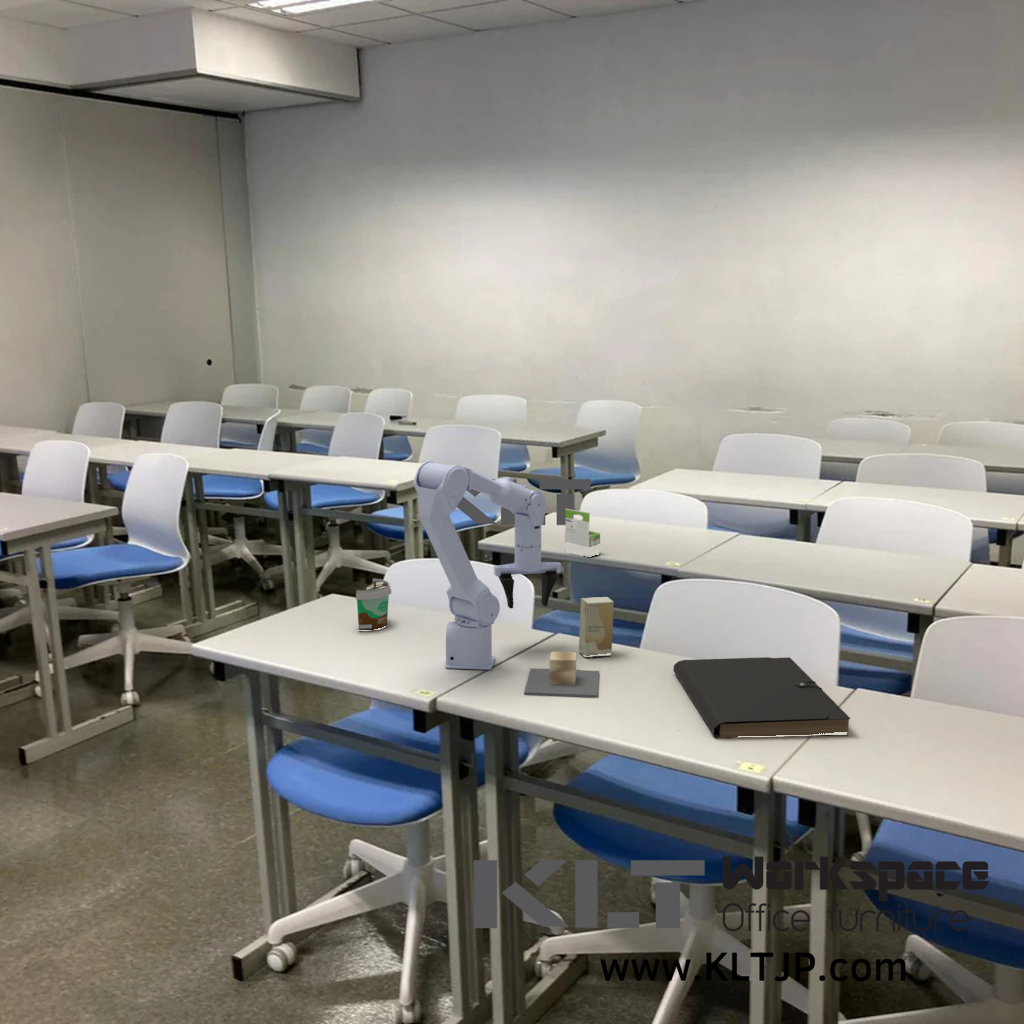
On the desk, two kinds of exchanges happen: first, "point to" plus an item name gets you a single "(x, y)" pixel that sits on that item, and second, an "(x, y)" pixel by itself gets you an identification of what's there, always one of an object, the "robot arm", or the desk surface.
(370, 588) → the food container
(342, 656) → the desk surface
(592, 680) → the charcoal mat
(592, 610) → the skincare box
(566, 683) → the maple cube
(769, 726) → the file folder
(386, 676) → the desk surface
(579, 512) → the ink box
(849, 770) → the desk surface
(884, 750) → the desk surface
